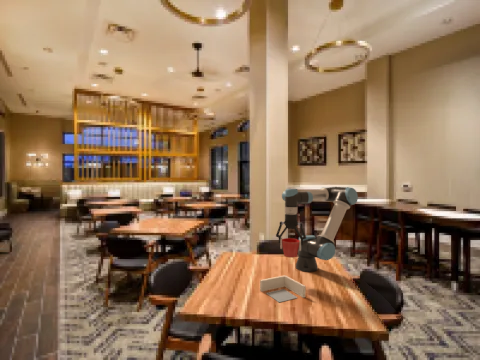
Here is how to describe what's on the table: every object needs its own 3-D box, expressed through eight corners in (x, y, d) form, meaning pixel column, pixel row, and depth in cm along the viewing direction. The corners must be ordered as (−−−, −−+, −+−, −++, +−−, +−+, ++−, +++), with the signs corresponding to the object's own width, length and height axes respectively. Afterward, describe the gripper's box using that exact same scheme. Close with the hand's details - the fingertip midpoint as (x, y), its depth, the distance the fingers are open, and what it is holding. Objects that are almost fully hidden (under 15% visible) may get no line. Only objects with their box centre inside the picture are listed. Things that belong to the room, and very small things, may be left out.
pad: (283, 289, 150) (283, 288, 150) (297, 298, 139) (297, 297, 139) (265, 293, 144) (265, 292, 144) (279, 302, 133) (279, 302, 133)
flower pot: (299, 259, 155) (300, 242, 155) (281, 257, 158) (281, 241, 158) (299, 254, 166) (299, 238, 166) (281, 252, 168) (282, 237, 168)
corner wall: (285, 285, 156) (285, 275, 156) (305, 297, 140) (305, 285, 140) (260, 290, 147) (260, 280, 147) (278, 303, 132) (278, 292, 132)
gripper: (271, 213, 161) (270, 249, 162) (310, 215, 155) (309, 252, 155) (273, 212, 169) (272, 246, 169) (310, 213, 162) (310, 249, 162)
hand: (290, 249), depth 162 cm, fingers closed on flower pot, 11 cm apart
